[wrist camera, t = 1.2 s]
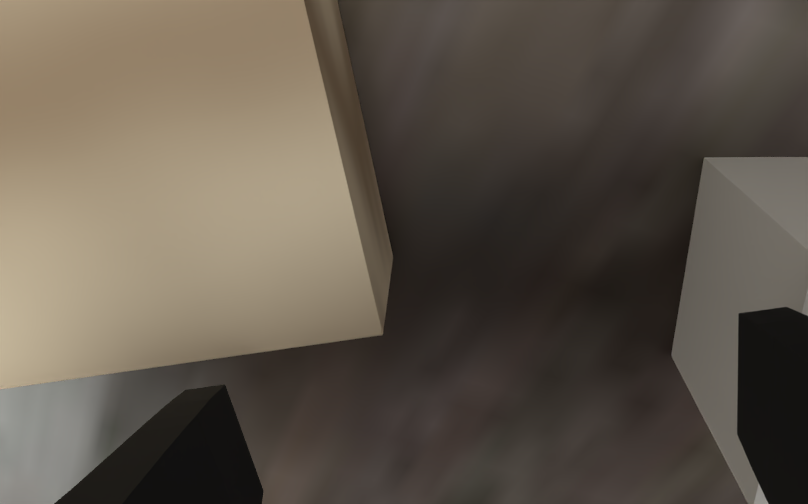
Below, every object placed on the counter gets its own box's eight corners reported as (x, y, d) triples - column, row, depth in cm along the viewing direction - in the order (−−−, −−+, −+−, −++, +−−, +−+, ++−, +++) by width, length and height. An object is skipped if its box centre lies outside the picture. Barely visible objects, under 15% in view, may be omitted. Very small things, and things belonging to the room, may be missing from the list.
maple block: (393, 256, 14) (383, 334, 11) (-12, 319, 15) (-109, 404, 12) (277, -277, 10) (220, -350, 8) (-245, -145, 11) (-457, -169, 9)
